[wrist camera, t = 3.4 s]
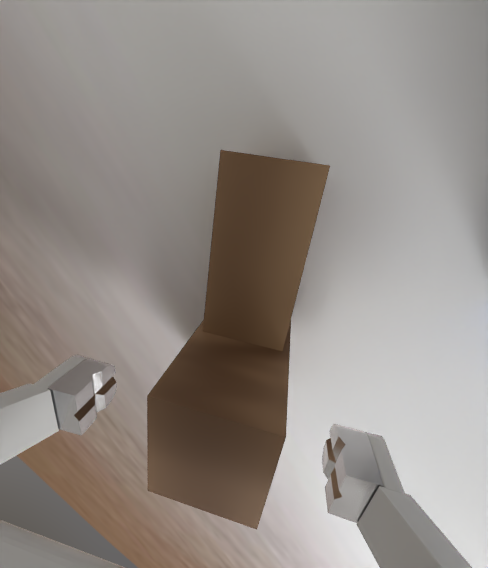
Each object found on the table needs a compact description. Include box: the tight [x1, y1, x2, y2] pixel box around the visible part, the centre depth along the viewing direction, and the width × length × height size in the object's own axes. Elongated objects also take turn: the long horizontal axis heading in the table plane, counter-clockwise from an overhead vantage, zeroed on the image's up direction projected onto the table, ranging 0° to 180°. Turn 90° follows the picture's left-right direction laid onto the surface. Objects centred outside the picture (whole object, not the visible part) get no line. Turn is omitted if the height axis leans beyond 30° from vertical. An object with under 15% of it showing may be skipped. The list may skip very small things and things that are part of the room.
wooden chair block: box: [147, 150, 330, 529], centre depth 8 cm, size 4×10×6 cm, turn 171°
